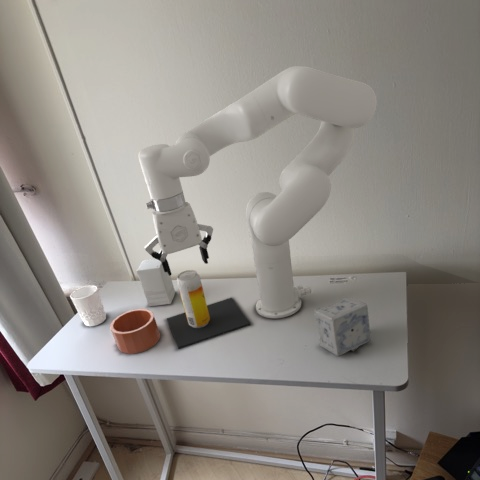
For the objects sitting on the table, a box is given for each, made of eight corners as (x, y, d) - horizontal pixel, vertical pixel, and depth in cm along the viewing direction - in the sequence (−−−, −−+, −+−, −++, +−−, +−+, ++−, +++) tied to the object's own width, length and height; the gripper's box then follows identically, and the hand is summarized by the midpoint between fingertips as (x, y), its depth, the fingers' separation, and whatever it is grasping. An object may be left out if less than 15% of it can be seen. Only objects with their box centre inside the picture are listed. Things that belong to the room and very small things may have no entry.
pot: (156, 323, 120) (150, 304, 117) (163, 344, 111) (156, 324, 107) (116, 336, 118) (108, 317, 115) (120, 359, 109) (112, 338, 105)
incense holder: (348, 328, 103) (347, 291, 98) (372, 344, 97) (372, 306, 91) (315, 343, 101) (312, 306, 95) (337, 361, 94) (335, 322, 88)
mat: (231, 299, 125) (231, 297, 125) (250, 324, 112) (250, 323, 112) (166, 319, 121) (166, 318, 121) (178, 349, 108) (178, 347, 108)
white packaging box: (176, 292, 134) (165, 256, 128) (170, 304, 128) (159, 267, 122) (154, 294, 136) (143, 259, 129) (147, 306, 130) (135, 270, 123)
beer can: (214, 318, 117) (202, 269, 109) (203, 330, 112) (191, 281, 104) (195, 315, 119) (183, 268, 111) (184, 327, 115) (171, 279, 107)
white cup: (84, 330, 124) (72, 302, 118) (80, 319, 130) (68, 291, 124) (110, 320, 126) (99, 292, 121) (105, 310, 132) (94, 282, 127)
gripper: (134, 217, 93) (157, 284, 102) (208, 195, 96) (223, 262, 105) (130, 208, 99) (152, 272, 108) (200, 188, 102) (215, 252, 112)
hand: (187, 267), depth 107 cm, fingers open, 9 cm apart
